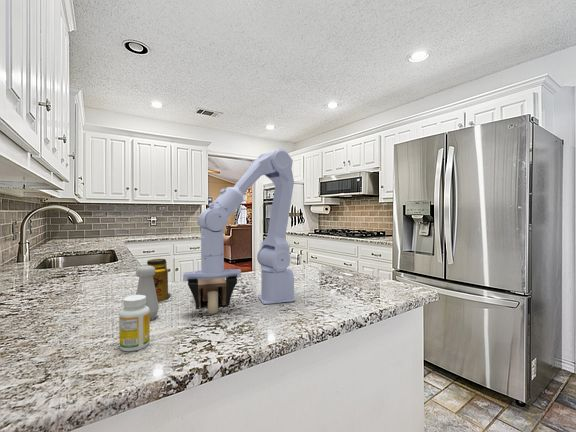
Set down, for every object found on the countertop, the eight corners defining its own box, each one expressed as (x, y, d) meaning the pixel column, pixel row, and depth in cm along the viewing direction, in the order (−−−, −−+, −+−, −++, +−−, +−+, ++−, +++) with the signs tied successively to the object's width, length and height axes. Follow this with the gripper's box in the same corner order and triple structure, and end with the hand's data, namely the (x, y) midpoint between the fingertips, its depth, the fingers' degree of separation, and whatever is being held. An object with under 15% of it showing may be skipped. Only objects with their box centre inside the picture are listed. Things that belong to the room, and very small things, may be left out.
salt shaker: (148, 324, 69) (147, 269, 69) (127, 322, 70) (126, 268, 70) (163, 315, 75) (163, 264, 75) (143, 313, 76) (143, 263, 76)
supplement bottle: (126, 355, 55) (125, 303, 54) (115, 346, 58) (114, 298, 58) (154, 344, 59) (154, 297, 58) (142, 337, 62) (142, 292, 62)
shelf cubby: (222, 293, 94) (222, 273, 94) (227, 305, 83) (227, 282, 83) (195, 296, 92) (195, 275, 91) (195, 308, 80) (195, 285, 80)
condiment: (143, 304, 84) (143, 262, 83) (145, 296, 92) (144, 258, 91) (171, 301, 87) (170, 260, 86) (170, 293, 94) (170, 256, 94)
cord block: (216, 295, 92) (216, 279, 92) (221, 312, 77) (221, 293, 76) (202, 296, 90) (202, 280, 90) (204, 314, 75) (204, 294, 75)
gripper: (238, 251, 83) (238, 299, 83) (183, 253, 78) (183, 304, 79) (242, 254, 76) (242, 306, 76) (182, 257, 72) (183, 313, 72)
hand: (212, 306), depth 77 cm, fingers open, 7 cm apart
